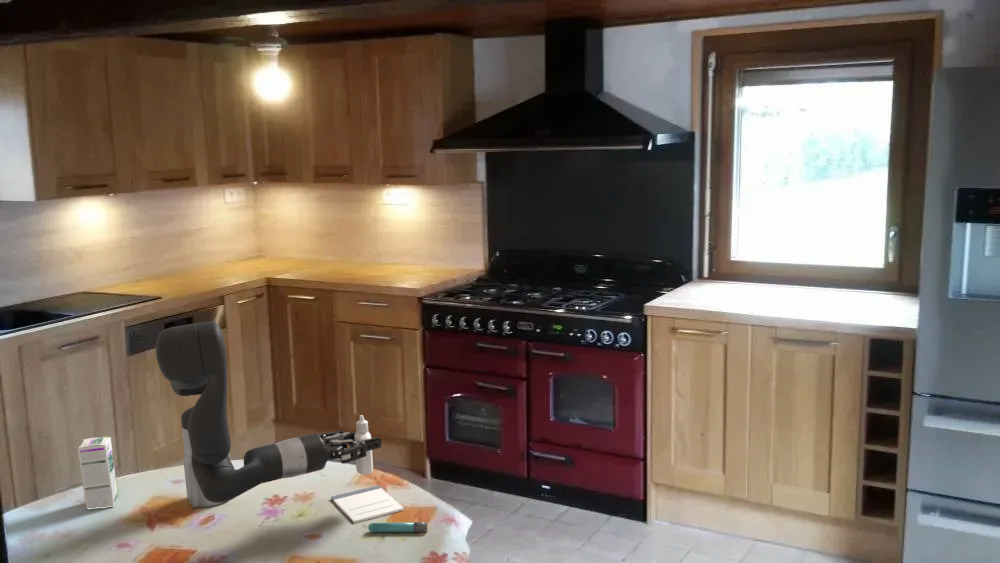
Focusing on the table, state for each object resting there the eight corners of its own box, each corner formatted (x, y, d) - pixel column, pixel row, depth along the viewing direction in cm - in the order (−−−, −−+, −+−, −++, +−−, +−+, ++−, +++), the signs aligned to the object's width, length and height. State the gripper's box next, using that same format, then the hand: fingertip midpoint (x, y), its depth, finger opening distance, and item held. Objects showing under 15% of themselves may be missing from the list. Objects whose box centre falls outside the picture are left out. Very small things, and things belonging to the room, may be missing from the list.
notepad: (354, 523, 181) (354, 520, 180) (331, 499, 193) (330, 496, 192) (403, 510, 186) (403, 507, 186) (378, 487, 198) (378, 485, 198)
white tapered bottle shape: (378, 465, 190) (375, 411, 188) (370, 475, 184) (367, 420, 182) (359, 465, 191) (356, 411, 189) (350, 474, 185) (346, 419, 183)
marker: (367, 533, 176) (367, 524, 175) (369, 529, 177) (369, 520, 177) (426, 533, 175) (426, 524, 175) (428, 529, 177) (427, 520, 176)
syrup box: (114, 507, 192) (107, 443, 190) (85, 511, 191) (77, 447, 188) (119, 497, 198) (111, 435, 195) (90, 500, 196) (82, 438, 194)
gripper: (311, 447, 172) (388, 429, 181) (283, 429, 184) (357, 413, 193) (313, 484, 173) (390, 464, 183) (286, 463, 185) (359, 446, 194)
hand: (373, 438), depth 188 cm, fingers closed on white tapered bottle shape, 5 cm apart
